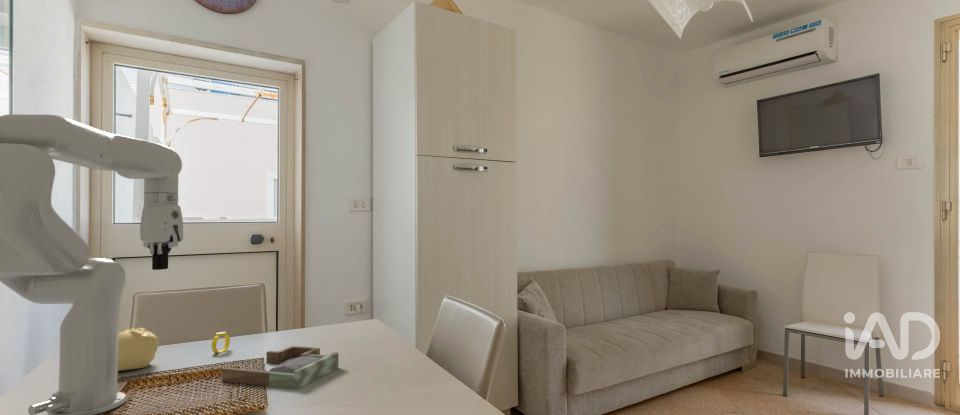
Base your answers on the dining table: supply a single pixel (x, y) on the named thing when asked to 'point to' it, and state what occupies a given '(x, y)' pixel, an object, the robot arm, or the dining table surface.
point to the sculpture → (136, 348)
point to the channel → (285, 379)
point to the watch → (227, 342)
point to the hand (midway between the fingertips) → (160, 269)
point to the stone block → (294, 364)
